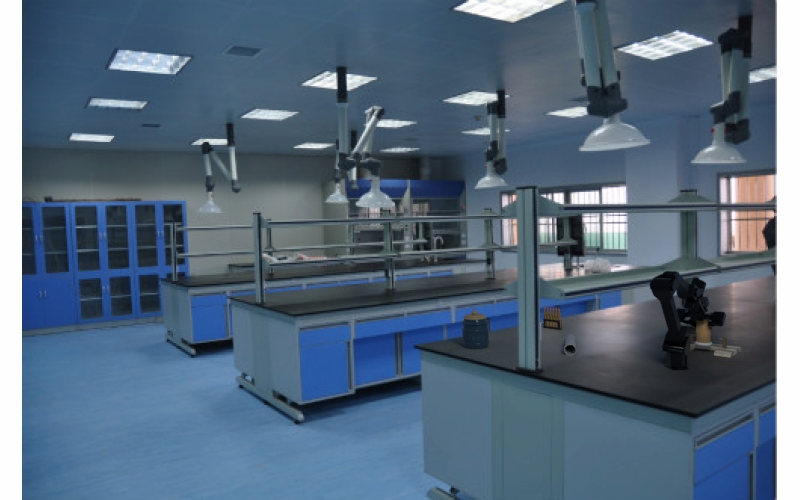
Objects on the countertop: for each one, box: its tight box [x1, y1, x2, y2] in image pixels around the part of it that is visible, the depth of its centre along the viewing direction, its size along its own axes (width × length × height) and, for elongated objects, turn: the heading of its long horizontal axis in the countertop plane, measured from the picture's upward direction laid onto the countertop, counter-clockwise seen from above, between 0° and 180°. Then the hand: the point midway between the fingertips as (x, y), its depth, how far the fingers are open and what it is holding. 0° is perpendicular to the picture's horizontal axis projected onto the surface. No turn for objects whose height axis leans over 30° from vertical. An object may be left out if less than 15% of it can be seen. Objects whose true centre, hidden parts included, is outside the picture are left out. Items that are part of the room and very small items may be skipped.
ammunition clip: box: [542, 305, 563, 331], centre depth 289 cm, size 11×2×12 cm, turn 41°
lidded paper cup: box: [694, 319, 713, 346], centre depth 228 cm, size 6×6×12 cm
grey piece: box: [676, 333, 742, 358], centre depth 230 cm, size 14×22×6 cm, turn 42°
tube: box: [563, 333, 577, 356], centre depth 245 cm, size 5×5×25 cm
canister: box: [461, 309, 490, 350], centre depth 259 cm, size 13×13×18 cm
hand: (704, 328), depth 229 cm, fingers closed on lidded paper cup, 5 cm apart
